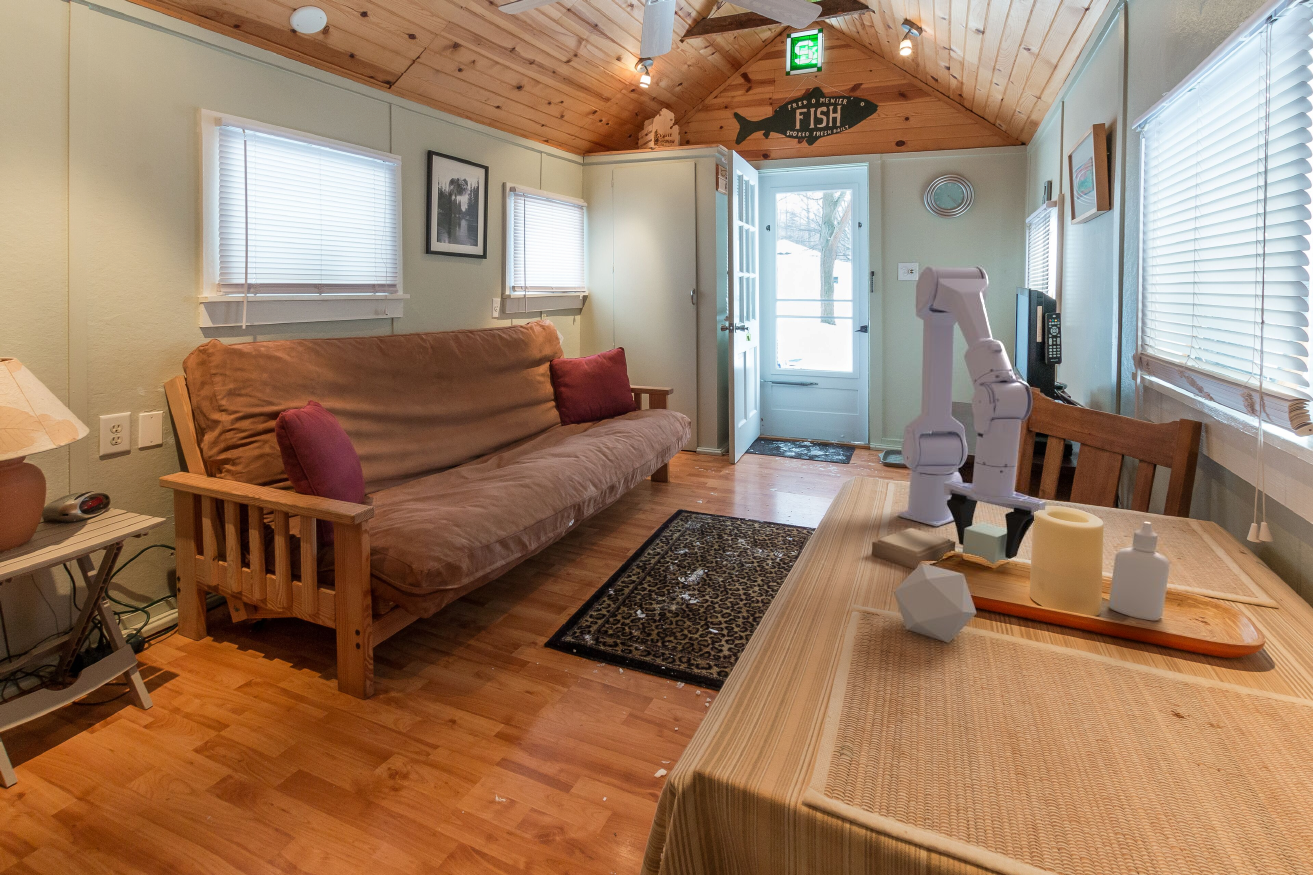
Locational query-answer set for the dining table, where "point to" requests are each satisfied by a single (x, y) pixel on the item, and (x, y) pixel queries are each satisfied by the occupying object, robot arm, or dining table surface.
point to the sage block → (985, 541)
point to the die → (935, 602)
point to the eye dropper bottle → (1140, 578)
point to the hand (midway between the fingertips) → (987, 549)
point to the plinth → (912, 547)
